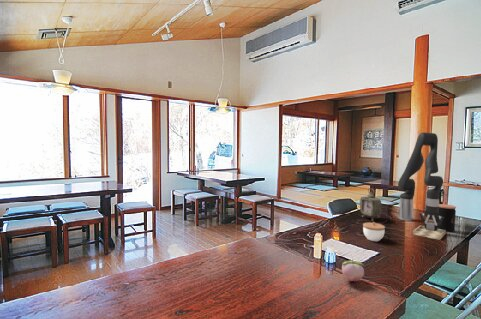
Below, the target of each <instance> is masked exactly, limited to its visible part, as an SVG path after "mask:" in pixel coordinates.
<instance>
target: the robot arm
mask: <svg viewBox="0 0 481 319" xmlns="http://www.w3.org/2000/svg"><path fill="white" fill-rule="evenodd" d="M438 141H439V140H438V135H437V133H433V132H425V131H424V132H420V133H419V135H418V136H417V138H416V142H415V145H414V148H413V150H412V153H411V154H410V157H409V159H408V161H407V164H406V167H405V169H404V170H403V173H402V174H401V176H400V178H399V180H398V181H397V187H398V189H399V190H401V191H405V192H403V193H400V195H399V207H398V213H397V214H398V215H397V219H398V220H402V221H406V222H407V221H408V222H410V221H413V210H414V197H415V191H416V181H415V179H413V178H411V177H412V176H413V175H415V174H417V173H418V172H419V171H420V170H421V169H422V166H423V164H424V166H425V175H424V179H423V182H424V185H425V186H427V187H433V188H430V189H427V190H426V195H425V196H426V199H425V205H424V206H425V207H424V208H425V209H424V212H420V213H419V217H420V220H421V223H424V226H425V228H426V224H427V222H429V221H431V220H432V221H433V223H435V231H436V230H437V229H438V225H441V223H442V221H443V219H444V217H443V216H439V204H440V192H441V189H442V186H443V184H444V178H443V177H442V176H441V175H432V174H437V173H438V172H439V165H438V145H439V144H438ZM424 146H429V148H430V151H429V153H428V155H427V156H426V158H425V159H424V156H423V153H422V152H423V151H422V149H423V147H424ZM424 217H426V218H424ZM438 217H439V219H440V221H439V223H438V222H437V218H438Z"/></svg>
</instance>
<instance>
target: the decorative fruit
mask: <svg viewBox="0 0 481 319" xmlns="http://www.w3.org/2000/svg"><path fill="white" fill-rule="evenodd" d="M363 266H365V264H363V263H362V262H360V261H358V260H357V261H355V260H354V259H352V260H346V261H344V262H342V263H341V272H342V275H343V277H344V278H345V279H347V280H348V281H350V282H351V281H354V282H357V281H359V280H361V279H362V278H363V277H364V276H365V270H364V268H363Z"/></svg>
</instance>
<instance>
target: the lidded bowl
mask: <svg viewBox="0 0 481 319" xmlns="http://www.w3.org/2000/svg"><path fill="white" fill-rule="evenodd" d="M385 229H386V226H385V225H383V224H381V223H376V222H375V221H372V222H364V223H362V231H363V236H365V238H366V239H367V240H368V241H372V242H379V241H381V239H383V237H384V236H385Z"/></svg>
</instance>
